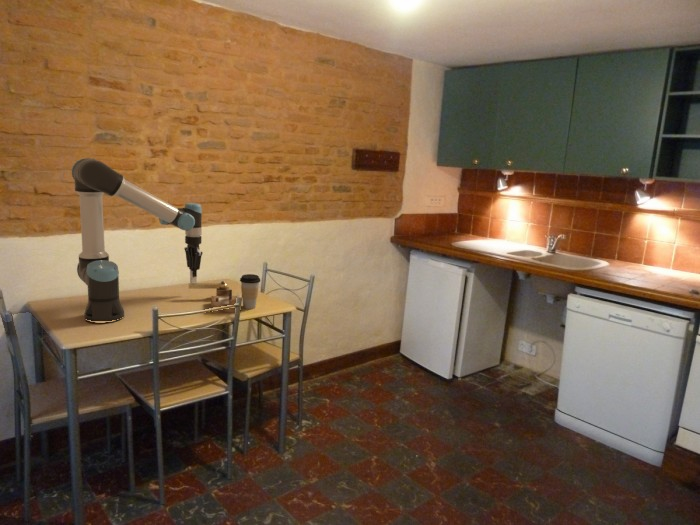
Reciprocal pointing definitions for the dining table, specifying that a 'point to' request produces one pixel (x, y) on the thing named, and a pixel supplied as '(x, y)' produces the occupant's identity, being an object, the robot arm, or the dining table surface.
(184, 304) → the dining table surface
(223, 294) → the jamb block
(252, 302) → the coffee cup
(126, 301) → the dining table surface
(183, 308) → the dining table surface
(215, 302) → the tan stepped block
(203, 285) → the latch bar
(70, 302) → the dining table surface
